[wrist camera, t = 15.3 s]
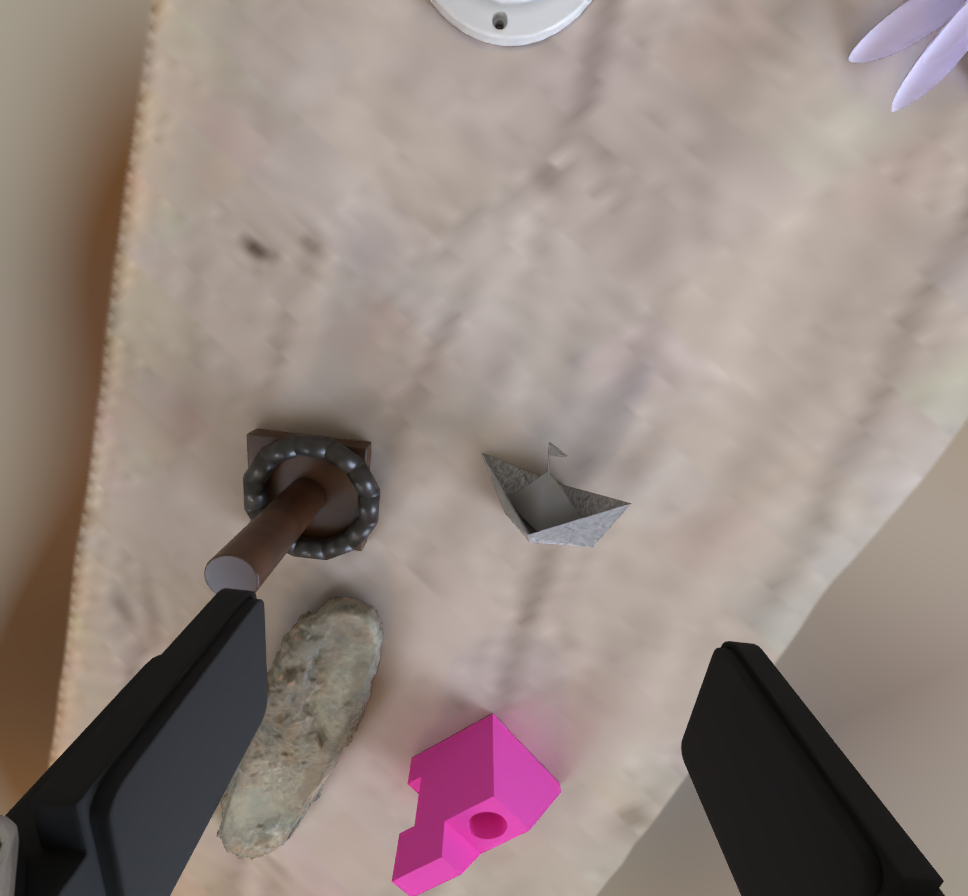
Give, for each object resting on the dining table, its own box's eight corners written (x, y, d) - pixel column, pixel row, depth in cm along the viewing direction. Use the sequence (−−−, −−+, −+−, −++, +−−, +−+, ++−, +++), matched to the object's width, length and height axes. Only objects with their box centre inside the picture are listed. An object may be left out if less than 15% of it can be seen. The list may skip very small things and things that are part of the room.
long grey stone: (214, 804, 50) (301, 825, 52) (186, 863, 45) (283, 883, 47) (301, 571, 38) (411, 608, 40) (276, 616, 33) (402, 656, 35)
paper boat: (462, 537, 37) (451, 443, 32) (502, 493, 41) (498, 404, 36) (605, 599, 31) (620, 496, 26) (633, 540, 35) (651, 442, 30)
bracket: (411, 758, 46) (391, 881, 36) (492, 713, 44) (494, 831, 34) (481, 822, 49) (479, 952, 39) (559, 783, 47) (578, 910, 37)
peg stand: (255, 428, 35) (138, 495, 23) (371, 442, 35) (313, 514, 23) (259, 530, 38) (156, 636, 26) (366, 542, 38) (313, 652, 26)
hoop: (248, 424, 33) (236, 430, 32) (385, 441, 34) (380, 448, 32) (252, 543, 37) (242, 554, 35) (377, 558, 37) (372, 569, 35)
